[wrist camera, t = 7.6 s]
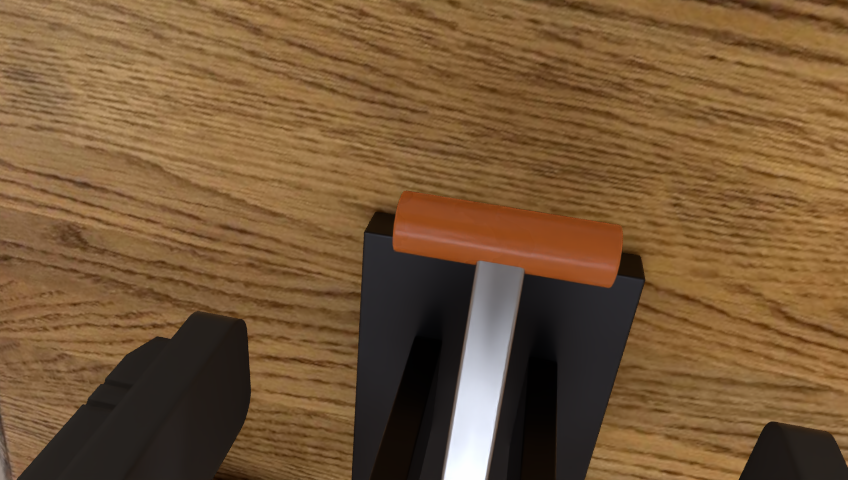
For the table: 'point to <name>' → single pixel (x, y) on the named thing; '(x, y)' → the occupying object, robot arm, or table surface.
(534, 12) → the table surface
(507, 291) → the switch
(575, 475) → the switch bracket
